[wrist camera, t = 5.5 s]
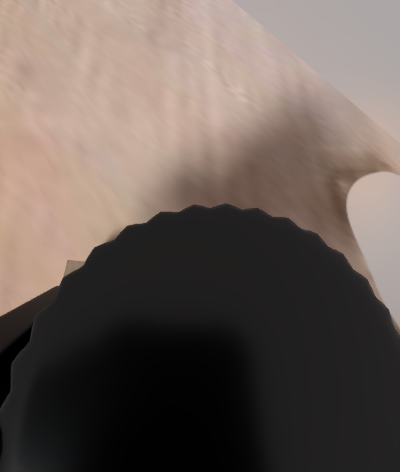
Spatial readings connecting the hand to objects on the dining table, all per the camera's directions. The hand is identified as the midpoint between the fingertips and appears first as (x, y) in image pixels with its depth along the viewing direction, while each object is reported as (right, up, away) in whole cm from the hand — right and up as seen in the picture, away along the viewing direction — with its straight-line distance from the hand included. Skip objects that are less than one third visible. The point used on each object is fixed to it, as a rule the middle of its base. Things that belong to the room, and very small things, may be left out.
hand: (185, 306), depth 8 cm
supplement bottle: (-1, -4, +6) cm, 7 cm away
